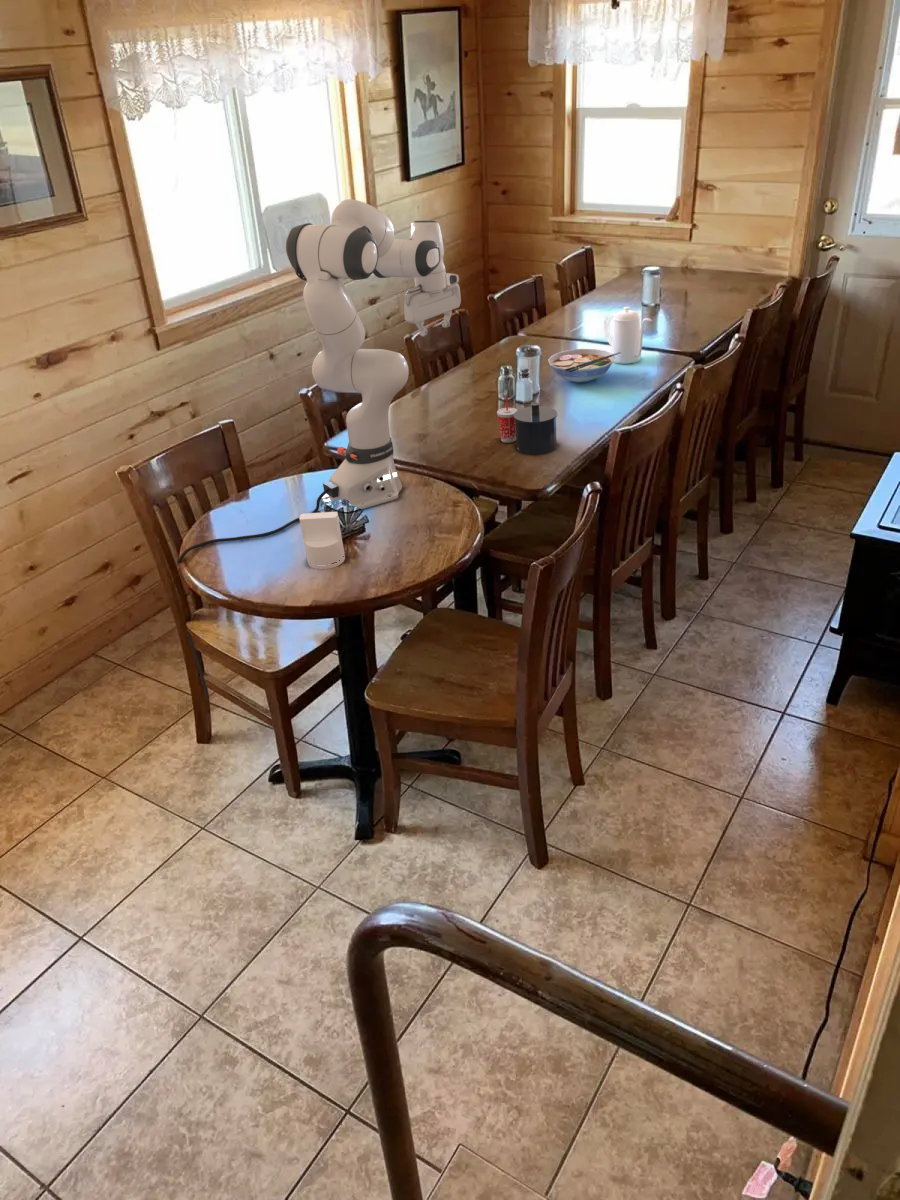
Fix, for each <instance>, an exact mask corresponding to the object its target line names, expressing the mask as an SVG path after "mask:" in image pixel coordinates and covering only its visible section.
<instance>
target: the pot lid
mask: <svg viewBox="0 0 900 1200" xmlns="http://www.w3.org/2000/svg"><path fill="white" fill-rule="evenodd" d="M517 410H518V411H516V412H515V413H514V419H515V420H516V421H518V422H520V423H525V424H540V423H546V422H549V421H552V420H554V419H555V418H556V419H557V417H558V411H557V410H556V409H555V408H552V407H549V406H545V405H543V406H541V405H540V403H539V402H531V403H530V406H527V407H523V408H520V409H517Z"/></svg>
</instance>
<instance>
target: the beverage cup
mask: <svg viewBox="0 0 900 1200" xmlns="http://www.w3.org/2000/svg"><path fill="white" fill-rule="evenodd" d="M518 410H519V409H517V408H515V407H509V403H508V394H505V407H502V408H499V409H498V410H497V411H496V415H497V417H498V425H499V435H500V441H501V442H502V443H506V444H507V443H509V444H511V443H514V442H516V421H515V419H514V413H515V412H516V411H518Z"/></svg>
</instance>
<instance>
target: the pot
mask: <svg viewBox="0 0 900 1200" xmlns="http://www.w3.org/2000/svg"><path fill="white" fill-rule="evenodd" d="M515 421H516V420H515ZM515 443H516V449H517V451H518V452H520V453H522V454H526V455H543V454H544V455H545V454H549V453H550V452H552V451H554V450H556V448H557V417H556V418H555V419H554V420H552V421H549V422H546V423H540V424H525V423H520V422H518V421H516V441H515Z"/></svg>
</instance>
